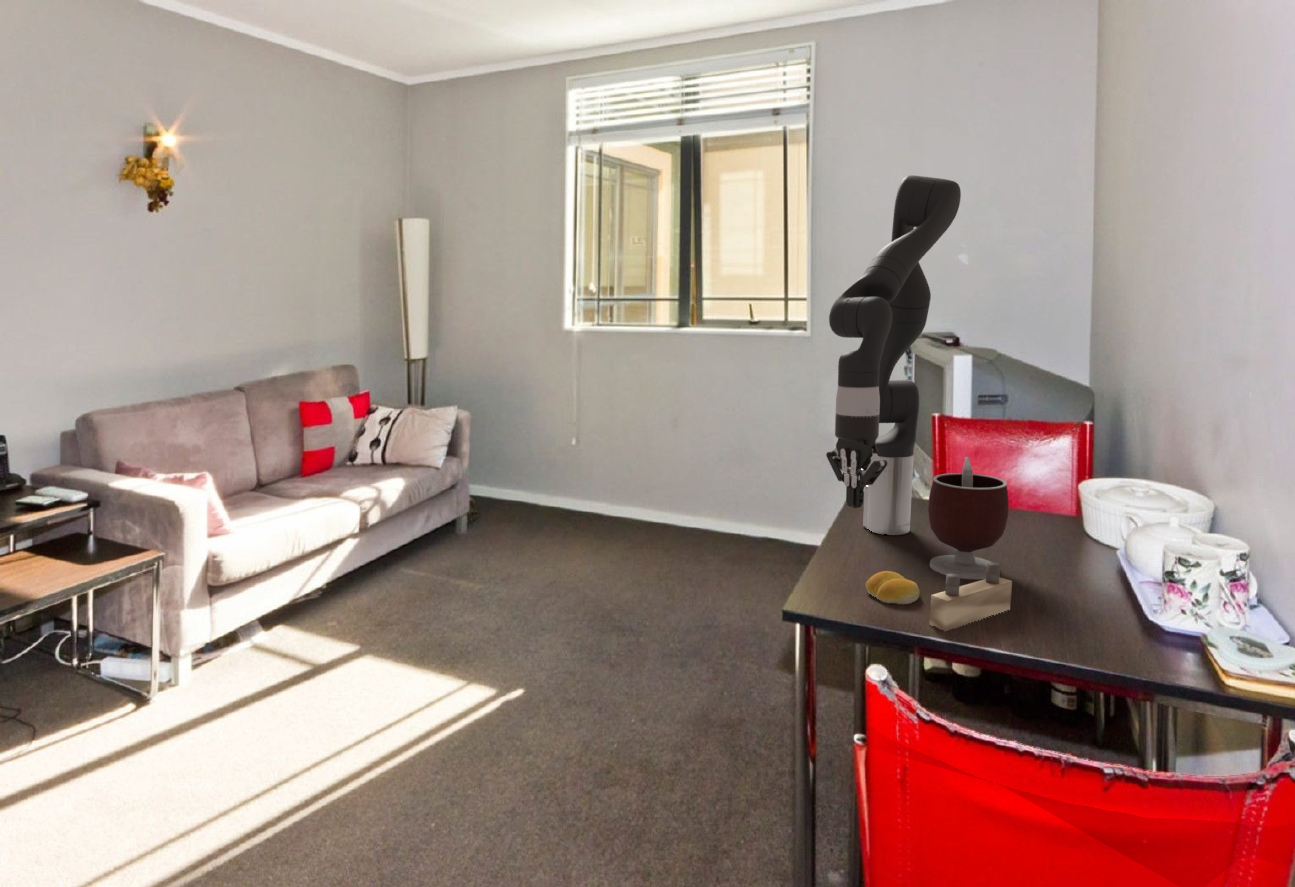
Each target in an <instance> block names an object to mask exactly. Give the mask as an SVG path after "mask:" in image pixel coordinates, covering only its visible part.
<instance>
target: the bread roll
mask: <svg viewBox="0 0 1295 887" xmlns="http://www.w3.org/2000/svg"><path fill="white" fill-rule="evenodd" d="M865 588H866V591H867V593H868V594H869V595H870V594H871V595H872V597H873V596H874V597H873V598H875V597H876V600H878V599H879V600H881V601H883V602H882V603H884V602H887V603H886V604H889V603H897V604H896V605H909V604H913V603H915V602H916V601H917V600H918V599H919V597H920V589H919V585H918V584H917V583H916V582H915V581H913V580H910V579H907V578H905V577H904V576H903V575H901V574H899V573H898V572H895V571H890V570H883V571H879V572H877V573H875V574H873V575H871V577H869V579H868V580H867V581H866V583H865ZM871 595H870V596H871ZM879 600H878V601H879ZM881 601H880V602H881ZM912 602H913V603H912Z"/></svg>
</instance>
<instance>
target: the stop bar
mask: <svg viewBox="0 0 1295 887" xmlns="http://www.w3.org/2000/svg"><path fill="white" fill-rule="evenodd" d="M1000 574H1001V564H1000V563H998V562H992V561H991V562H989V563H987V570H986V579H979V580H978V581H974V582H970V583H967V584H963V585H960V582H961V578H960V576H959V575H957V574H947V575H945V590H944V591H941V592H940V591H939V592H937V593H934V594H930V608H929V609H930V613H929V626H930V625H931V627H933V626H936V627H938V628H940V629H943V630H945V631H947V630H949V629H952V628H955V627H957V626H961V627H963V626H962V625H964V626H967V625H969V624H968V623H970V624H972V623H971V622H973V623H975V622H974V621H976V622H979V621H982V620H984V619H983V618H985V619H987V618H986V617H988V616H991V615H994V616H997V615H999V614H998V613H1000V614H1002V613H1001V612H1003V613H1005V612H1004V611H1006V610H1009V611H1010V610H1011V603H1012V602H1011V600H1012V586H1013V581H1012V580H1009V579H1008V578H1007V579H1006V578H1004V577H1002V576H1001V577H1000ZM1006 612H1007V611H1006ZM996 614H997V615H996ZM991 617H992V616H991ZM988 618H989V617H988ZM981 619H982V620H981ZM978 620H979V621H978ZM966 624H967V625H966ZM940 629H939V630H940ZM955 629H956V628H955ZM945 631H944V632H945ZM947 632H948V631H947Z"/></svg>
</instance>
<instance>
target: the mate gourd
mask: <svg viewBox="0 0 1295 887" xmlns="http://www.w3.org/2000/svg"><path fill="white" fill-rule="evenodd" d="M932 480H933V481H932V483H931V486H930V491H929V497H928V508H927V510H928V511H927V512H928V522H929V524H930V528H931V531H932V532H933V534H934V535H935V536H936V538H937V540H938V541H940V543H942V544H944V545H946V546H949V547H951V548H954V549H955V550H957V551H956V553H955V554H944V555H943V554H942V555H938V556H934V557H932V558H931V559H930V561H929V566H930V568H931V570H932V571H934V572H936V573H938V572H939V573H938V574H941V575H944V576H946V575H947V574H957V575H959V576H960V579H963V580H964V579H965V580H984V579H986V570H987V563H989V562H992V561H991V560H987V559H986V558H982V557H977V556H974V551H979V550H982V549H983V550H984V549H987V548H990V547H992V546H994V545H995V543H997V542H998V541H999V540H1000V538H1002V537H1003V535H1004V533H1005V530H1006V527H1007V522H1008V518H1009V506H1010V503H1009V492H1008V487H1007V486H1008V483H1007V481H1006V480H1004V479H1002V478H999V477H995V476H992V475H991V476H990V475H985V474H978V473H973V469H972V465H971V461H970V459H969V457H968V456H965V457H964V462H963V467H962V472H958V473H956V472H955V473H954V472H953V473H951V472H950V473H943V474H942V473H941V474H937V475H934V476H933V478H932Z"/></svg>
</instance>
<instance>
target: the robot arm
mask: <svg viewBox="0 0 1295 887" xmlns="http://www.w3.org/2000/svg"><path fill="white" fill-rule="evenodd" d="M898 186H899V187H898V189H897V192H896V196H895V201H894V208H893V219H892V228H891V229H892V231H891V241H890V242H889V243H888V244H886V245H885V246H883V247H882V248H881V249H879V251H878V252H877V253H876V255H874V257H873V258H872V260H871V261H870V263H869V265H868V266H867V268H866V270H865V271H864V273H863V274H862V276H861V277H860V278H858V279H857V280H856V281H855V282H853V283H852V284H851V285H850V286H849V287H848V288H847V289H846V290H845V291H843V292H842V293H841V294H840V295H839V296H838V297H837V299H836V300H835V301H834V302H833V304H832V306H831V308H830V312H829V315H828V321H829V322H828V324H829V327H830V329H831V331H832V332H833V334H835V335H836V336H838V337H841V338H845V339H846V338H847V339H848V338H850V339H851V338H855V339H856V338H857V339H859V338H860V339H862V340H861V343H860V345H859V347H858V348H857V349H856V350H852V351H848V352H844V353H842V354H840V356H839V358H838V366H837V369H838V372H837V374H838V375H837V390H836V395H835V396H836V398H835V420H834V421H835V422H834V436H835V438H837V441H836V444H835V448H834V449H833V450H830V451H827V452H826V454H825V456H826V458H827V461H828V462H829V465H830V467H831V469H832V471H833V473H834V475H835V477H836V479H837V481H838V482H843V484H844V486H845V487H846V489H845V490H846V491H845V492H846V494H845V501H846V502H845V503H846V505H847V507H849V508H852V509H858V508H861V507H862V505H863V515H862V516H863V518H862V527H863V526H865V527H864V528H866V530H867V529H869V530H870V531H869V530H868V531H869V532H871V531H872V533H876V534H879V535H884V534H887V536H901V535H906V534H908V533H909V532H910V527H911V514H912V513H911V512H912V510H911V509H912V508H911V507H912V493H913V492H912V491H913V490H912V489H913V473H914V472H913V470H914V468H913V467H914V466H913V465H914V451H915V450H914V449H915V445H916V440H917V428H918V420H919V411H920V410H919V409H920V394H919V389H918V386H917V385H916V382H914V381H912V380H907V379H898V380H895V379H894V380H893V379H892V380H890V379H891V376H892V373H893V371H894V368H895V366H896V364H897V363H898V362H899V361H900V359H901V358H902V356H903V355H904V354H905V353H906V352H907V351H908V349H910V348H911V346H912V345H913V344H914V343H915V341H916V340H917V339H918V338H919V337H920V335H921V334H922V333H923V331H924V329H925V327H926V325H927V324H926V323H927V319H928V316H929V309H930V303H931V295H932V294H931V289H930V286H929V284H928V280H927V278H926V276H925V273H924V270H923V269H922V267H921V264H920V260H922V259H923V257H924V256H925V255H927V253H928V252H929V251H930V250H931V249H932V247H934V245H935V244H936V243H937V242H938V240H940V238H941V237H942V236H943V235H944V234H945V233H946V231H947V230H948V229H949V227H951V225H952V223H953V222H954V220H955V219H956V217H957V213H958V211H959V208H960V205H961V196H962V194H961V192H962V191H961V187H960V185H959V183H957V182H956V181H955V180H951V179H946V178H938V177H930V176H921V175H912V174H911V175H906V176H905V177H903V179H902V180H901V181H900V184H899V185H898ZM880 424H894V426H893V427H892V429H890V430H889V431H888V432H886V433H884V434H882V435H879V434H880V433H879V432H880Z"/></svg>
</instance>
